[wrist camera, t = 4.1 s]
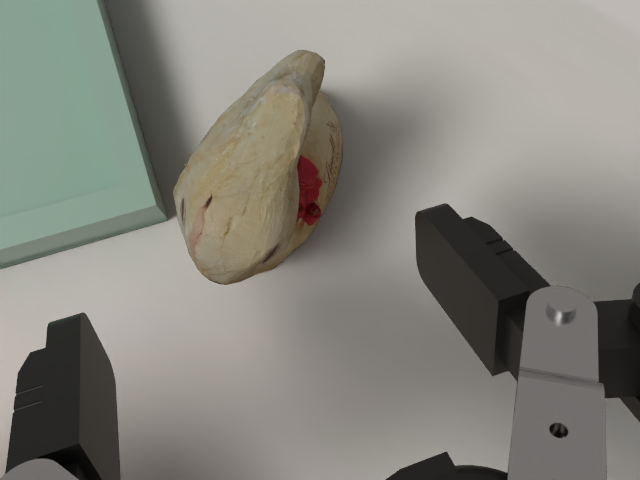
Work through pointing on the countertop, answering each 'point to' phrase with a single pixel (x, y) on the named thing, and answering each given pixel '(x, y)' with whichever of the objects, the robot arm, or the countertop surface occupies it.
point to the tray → (67, 133)
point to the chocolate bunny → (261, 173)
